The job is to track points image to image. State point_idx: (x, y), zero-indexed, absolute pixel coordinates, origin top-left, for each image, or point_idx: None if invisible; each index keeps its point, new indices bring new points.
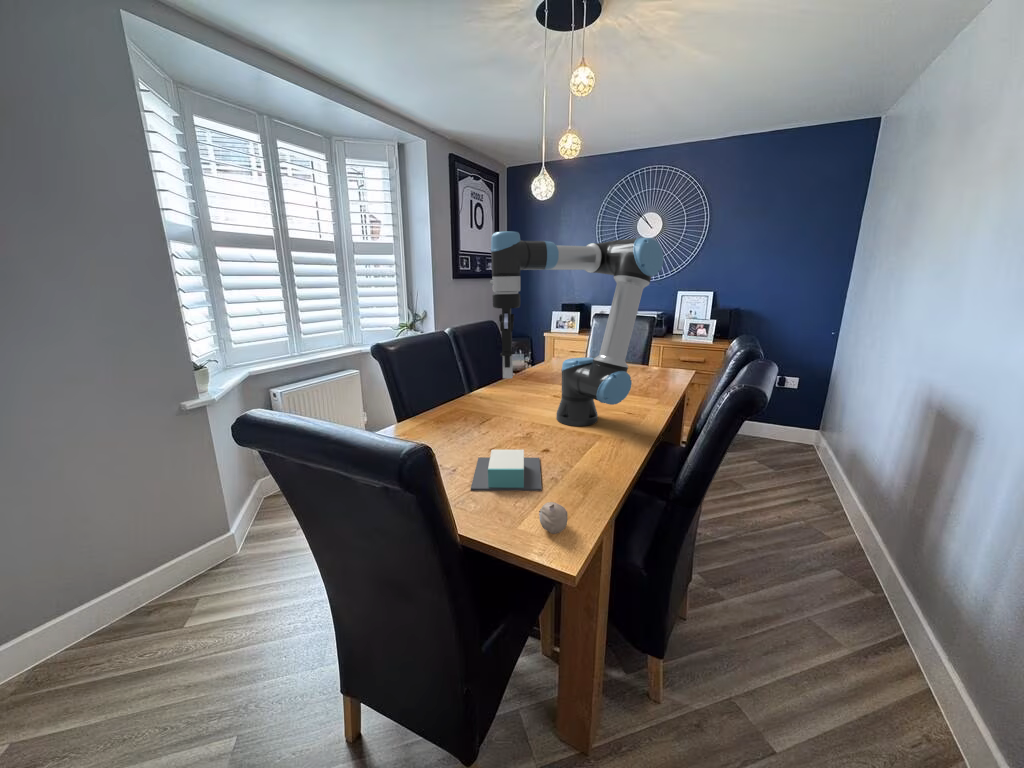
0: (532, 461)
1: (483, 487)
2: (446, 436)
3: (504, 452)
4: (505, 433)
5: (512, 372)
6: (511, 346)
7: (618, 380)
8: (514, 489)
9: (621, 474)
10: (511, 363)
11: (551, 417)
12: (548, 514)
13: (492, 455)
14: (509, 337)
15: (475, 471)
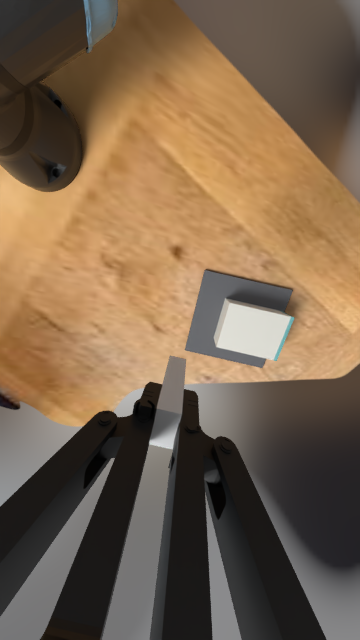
0: (215, 283)
1: None
2: (105, 378)
3: (231, 331)
4: (102, 300)
5: (174, 365)
6: (180, 463)
7: None
8: None
9: (289, 151)
10: (183, 392)
11: (31, 199)
12: None
13: (236, 349)
14: (309, 619)
15: (223, 358)
